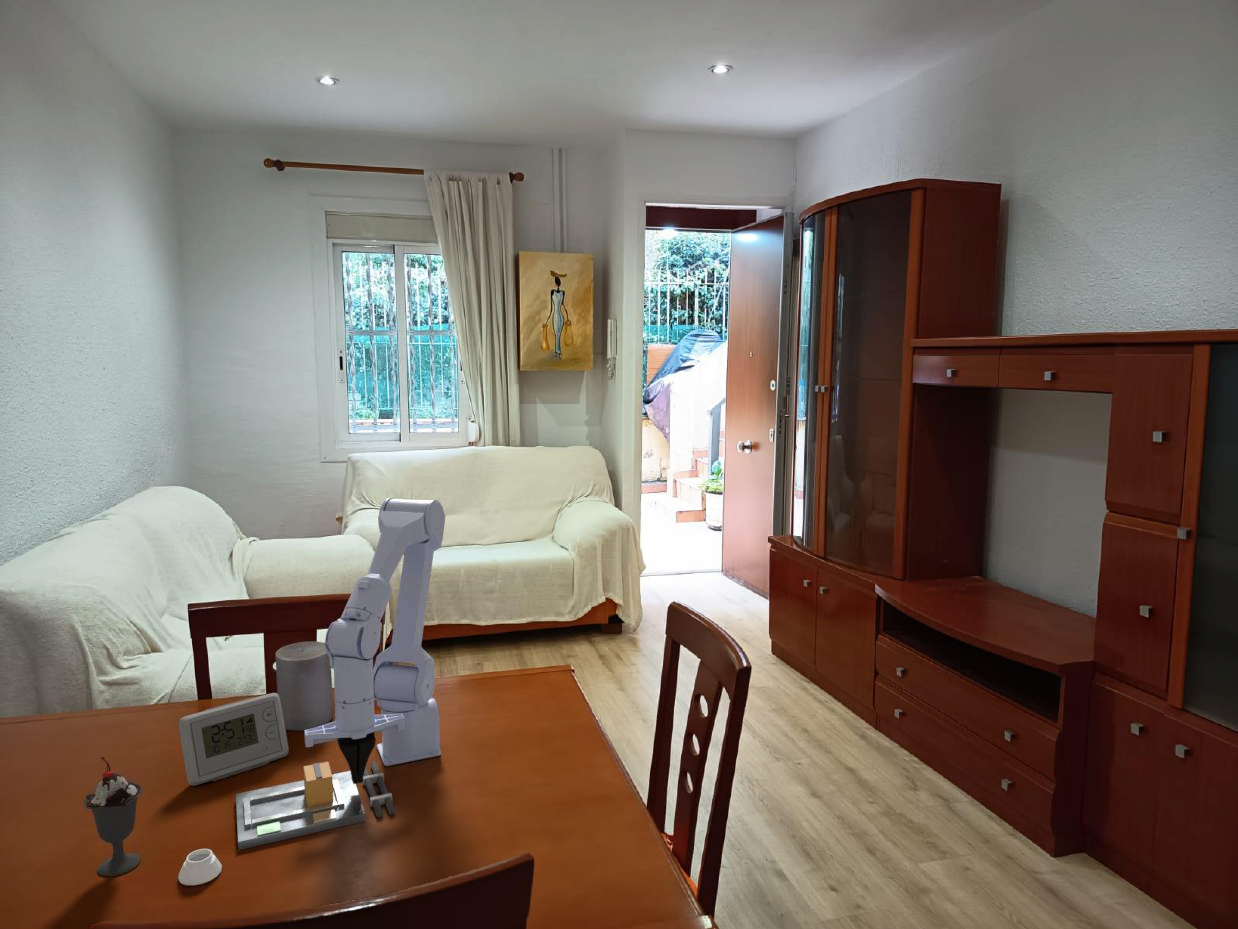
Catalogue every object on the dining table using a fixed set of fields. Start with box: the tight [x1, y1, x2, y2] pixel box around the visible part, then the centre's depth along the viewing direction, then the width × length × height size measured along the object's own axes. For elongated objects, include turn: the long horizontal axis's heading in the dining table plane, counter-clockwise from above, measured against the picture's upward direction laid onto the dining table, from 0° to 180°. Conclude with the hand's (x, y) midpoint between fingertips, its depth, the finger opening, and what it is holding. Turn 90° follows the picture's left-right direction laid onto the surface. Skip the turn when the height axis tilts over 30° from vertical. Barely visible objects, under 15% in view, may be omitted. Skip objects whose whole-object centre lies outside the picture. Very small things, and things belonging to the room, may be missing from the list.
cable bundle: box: [362, 760, 396, 819], centre depth 130 cm, size 3×16×1 cm, turn 26°
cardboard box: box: [303, 761, 333, 808], centre depth 125 cm, size 4×5×5 cm
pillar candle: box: [275, 640, 334, 732], centre depth 154 cm, size 10×10×15 cm
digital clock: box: [178, 692, 290, 787], centre depth 137 cm, size 16×9×11 cm, turn 122°
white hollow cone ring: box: [178, 848, 223, 886], centre depth 108 cm, size 5×3×5 cm
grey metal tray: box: [235, 770, 366, 851], centre depth 124 cm, size 17×14×2 cm
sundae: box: [83, 755, 144, 877], centre depth 109 cm, size 7×7×15 cm
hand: (357, 780), depth 127 cm, fingers closed
